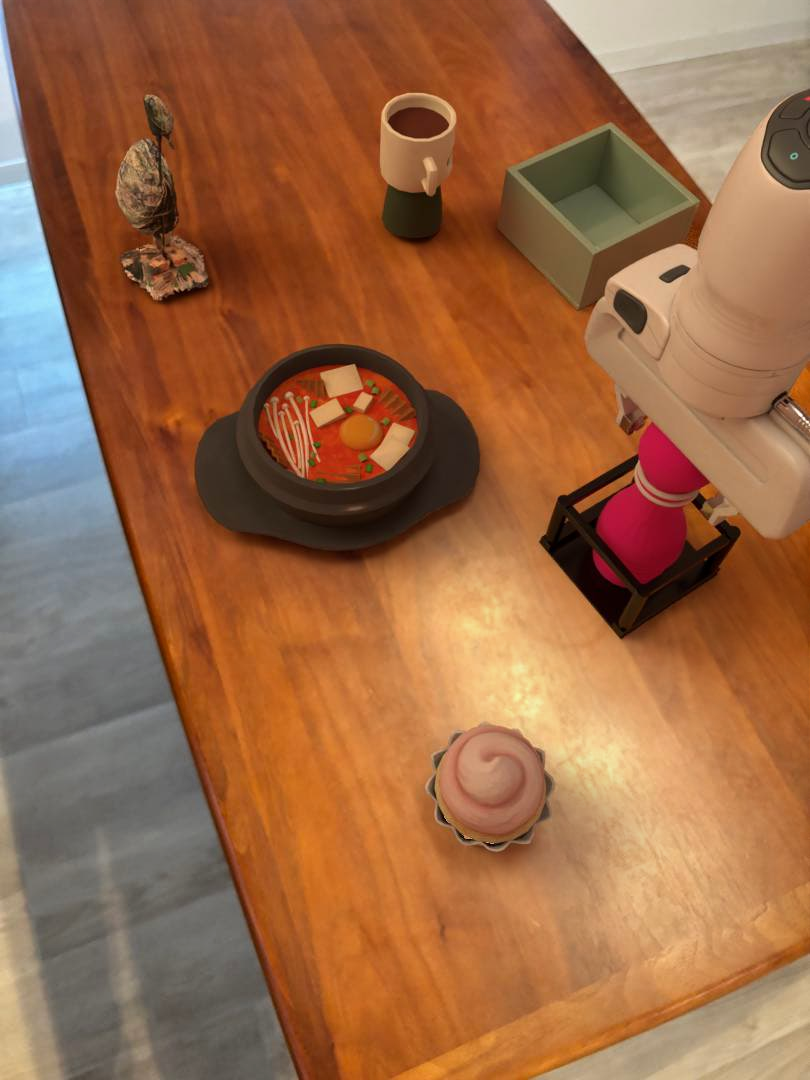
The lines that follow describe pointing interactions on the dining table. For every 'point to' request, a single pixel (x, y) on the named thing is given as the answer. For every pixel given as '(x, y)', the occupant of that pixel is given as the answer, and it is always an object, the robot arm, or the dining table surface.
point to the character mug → (415, 162)
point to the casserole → (336, 452)
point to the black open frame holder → (611, 601)
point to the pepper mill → (650, 510)
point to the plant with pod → (156, 213)
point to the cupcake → (490, 786)
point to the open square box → (592, 211)
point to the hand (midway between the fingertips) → (669, 469)
